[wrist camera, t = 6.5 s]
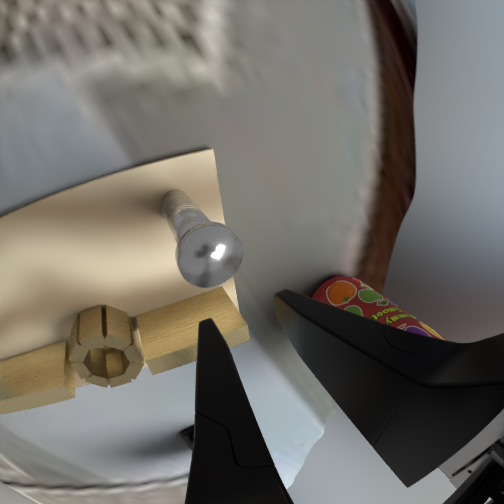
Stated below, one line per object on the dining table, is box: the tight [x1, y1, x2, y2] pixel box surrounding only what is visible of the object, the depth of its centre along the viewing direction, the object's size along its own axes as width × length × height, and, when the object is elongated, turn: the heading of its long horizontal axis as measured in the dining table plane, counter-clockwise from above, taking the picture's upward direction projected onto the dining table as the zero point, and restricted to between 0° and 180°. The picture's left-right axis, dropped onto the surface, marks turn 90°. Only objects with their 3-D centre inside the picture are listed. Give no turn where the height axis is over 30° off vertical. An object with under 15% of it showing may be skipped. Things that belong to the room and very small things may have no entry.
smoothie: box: [312, 276, 448, 341], centre depth 22 cm, size 8×8×20 cm
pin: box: [161, 190, 243, 288], centre depth 15 cm, size 3×3×8 cm
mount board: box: [0, 148, 240, 387], centre depth 18 cm, size 16×24×1 cm, turn 95°
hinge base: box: [69, 287, 250, 388], centre depth 19 cm, size 5×13×5 cm, turn 95°
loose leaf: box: [0, 341, 75, 414], centre depth 16 cm, size 2×8×4 cm, turn 96°
